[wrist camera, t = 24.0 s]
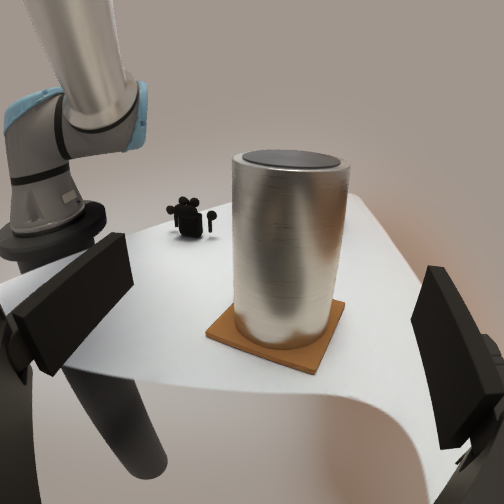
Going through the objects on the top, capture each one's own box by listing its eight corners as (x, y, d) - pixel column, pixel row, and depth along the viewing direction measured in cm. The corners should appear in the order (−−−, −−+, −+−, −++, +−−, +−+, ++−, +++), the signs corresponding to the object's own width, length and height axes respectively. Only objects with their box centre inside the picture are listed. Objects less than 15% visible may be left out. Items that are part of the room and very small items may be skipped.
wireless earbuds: (219, 237, 38) (218, 198, 36) (209, 246, 36) (208, 204, 34) (171, 229, 40) (168, 192, 38) (160, 237, 38) (156, 198, 36)
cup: (216, 329, 22) (208, 160, 17) (259, 283, 28) (263, 145, 23) (310, 362, 20) (336, 175, 14) (337, 304, 25) (358, 157, 20)
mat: (205, 336, 22) (204, 331, 22) (256, 283, 29) (256, 278, 29) (314, 375, 19) (315, 370, 19) (344, 307, 26) (345, 302, 26)
